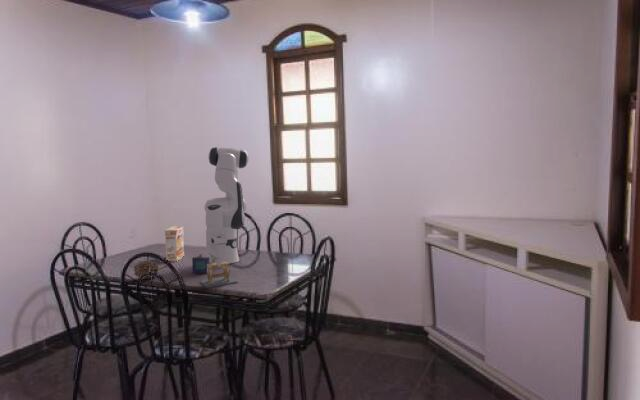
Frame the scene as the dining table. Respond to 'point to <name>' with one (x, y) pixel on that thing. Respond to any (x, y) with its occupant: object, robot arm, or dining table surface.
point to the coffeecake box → (174, 243)
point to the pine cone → (146, 268)
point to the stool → (211, 275)
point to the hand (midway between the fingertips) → (216, 264)
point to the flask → (200, 264)
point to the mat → (218, 282)
